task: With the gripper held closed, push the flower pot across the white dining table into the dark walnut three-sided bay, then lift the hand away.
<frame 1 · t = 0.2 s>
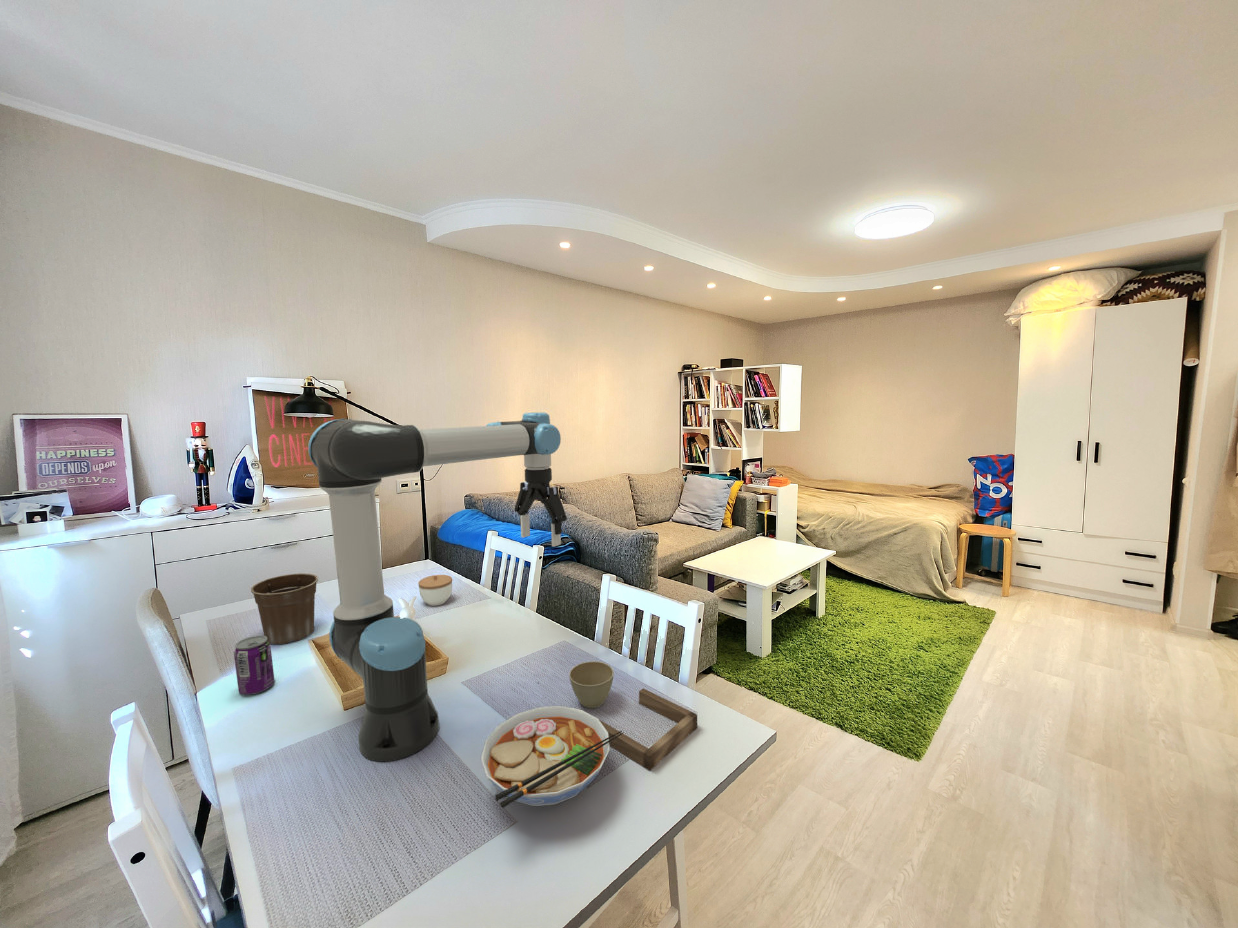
hand: (540, 540, 144), 28 cm above the table, tool pointing down, fingers open, 13 cm apart
lidded jar: (436, 602, 170), on the table
beverage can: (257, 689, 121), on the table
ramen bowl: (548, 782, 91), on the table
walnut bay: (643, 730, 104), on the table
plant pot: (291, 635, 148), on the table
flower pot: (592, 702, 114), on the table
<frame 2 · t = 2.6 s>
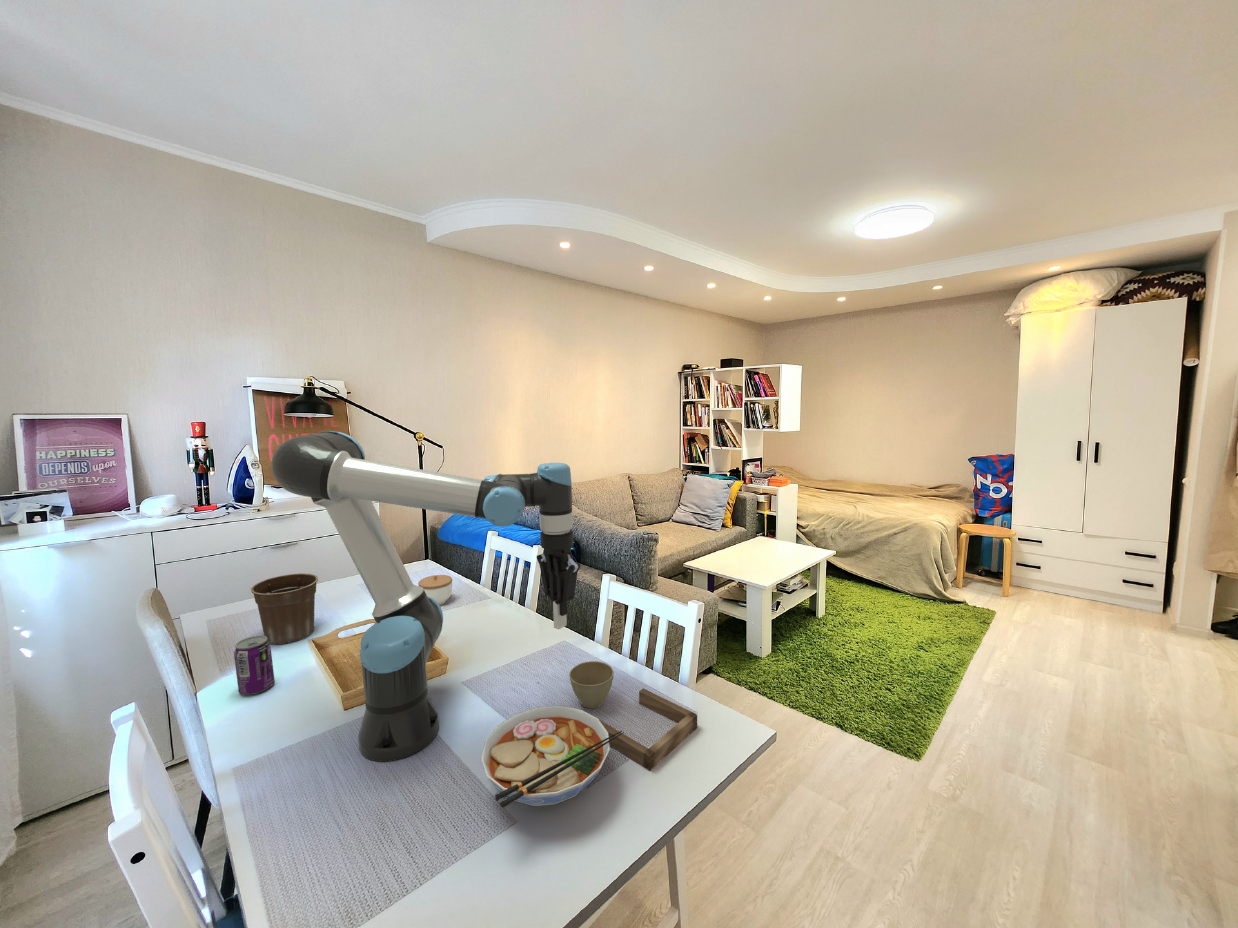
hand: (560, 626, 119), 15 cm above the table, tool pointing down, fingers closed
nothing on the table moved.
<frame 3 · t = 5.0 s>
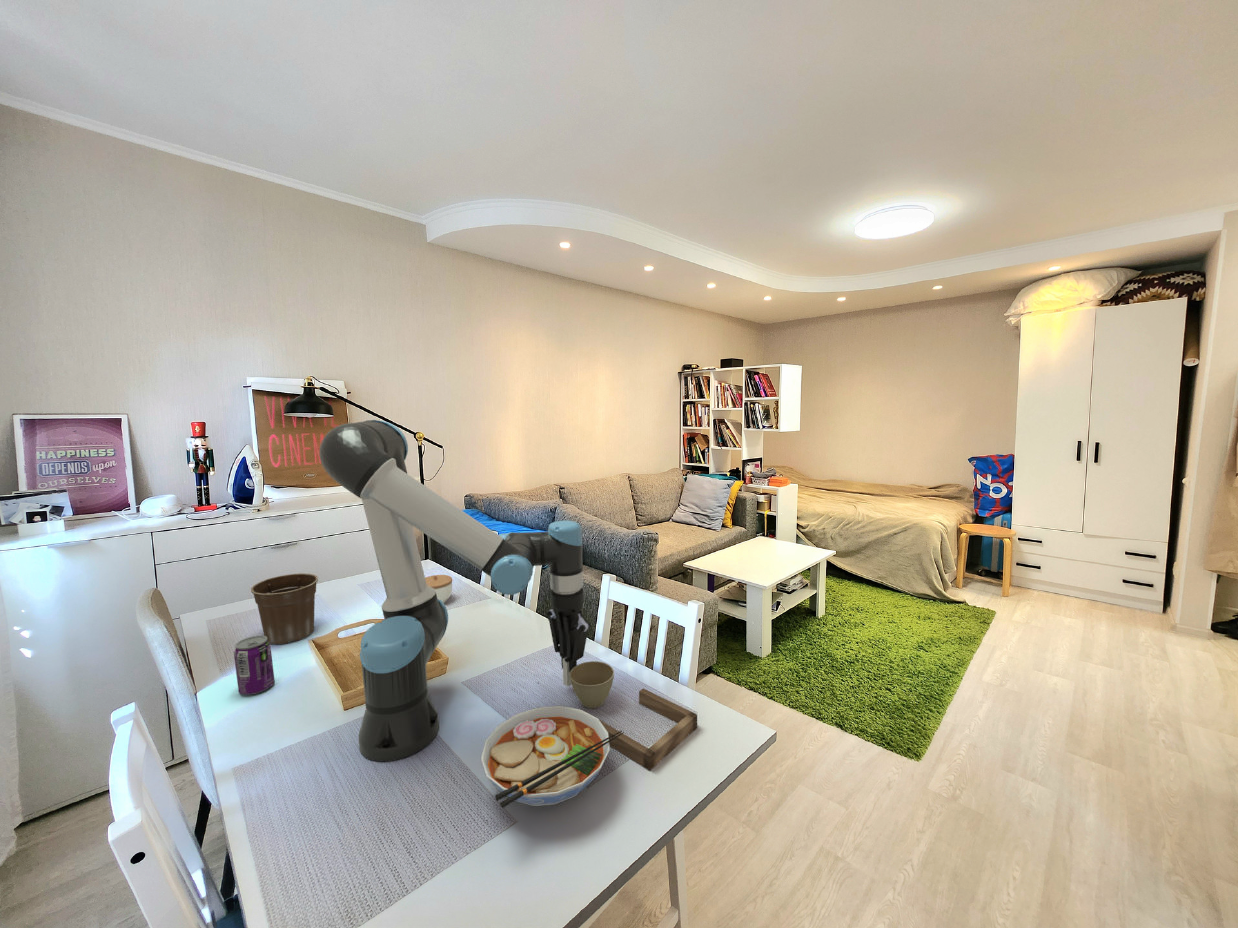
hand: (569, 682, 119), 1 cm above the table, tool pointing down, fingers closed
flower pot: (592, 702, 114), on the table, touching gripper
everything else where it was.
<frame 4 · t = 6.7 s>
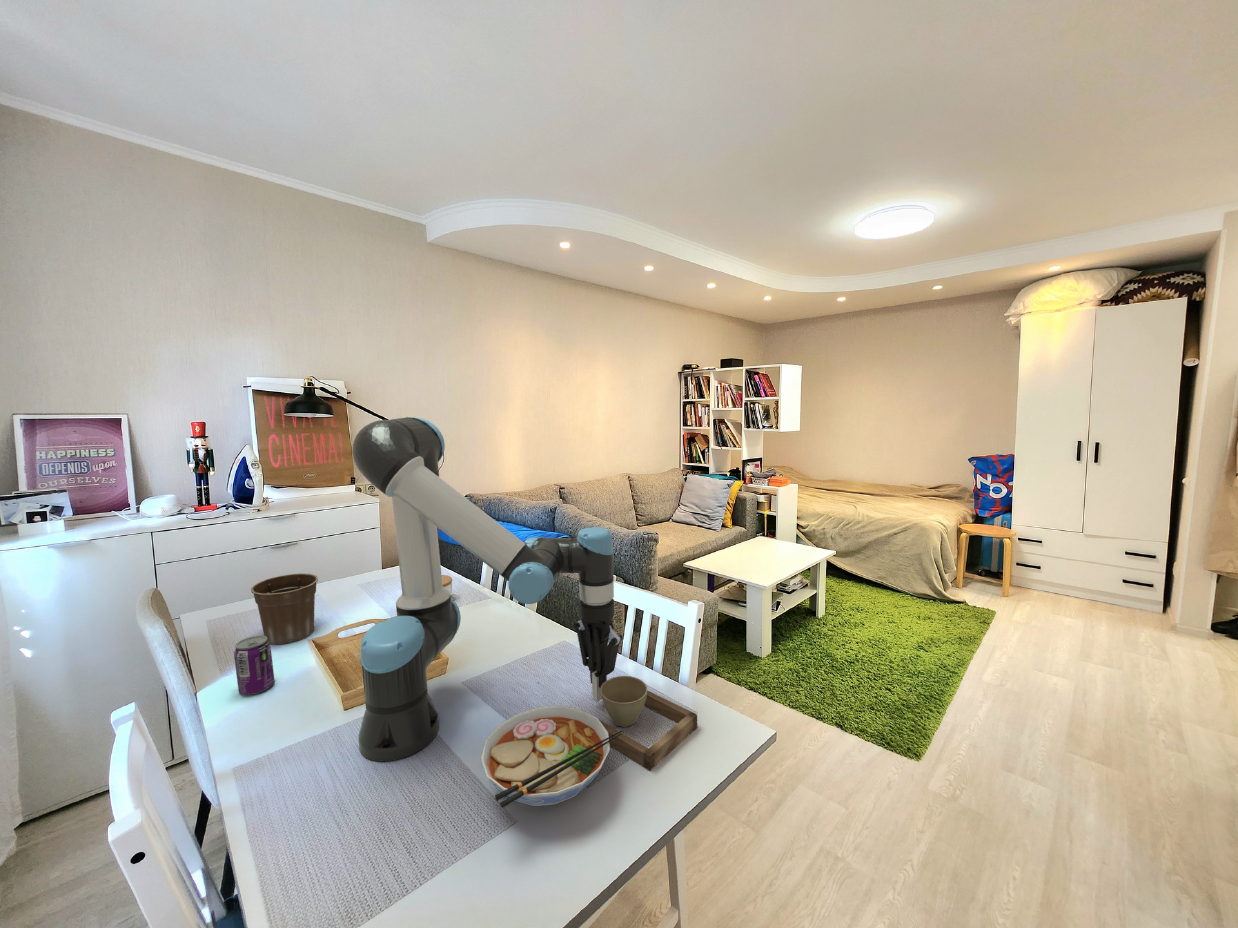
hand: (598, 698, 113), 2 cm above the table, tool pointing down, fingers closed
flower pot: (624, 720, 108), on the table, touching gripper
everything else where it was.
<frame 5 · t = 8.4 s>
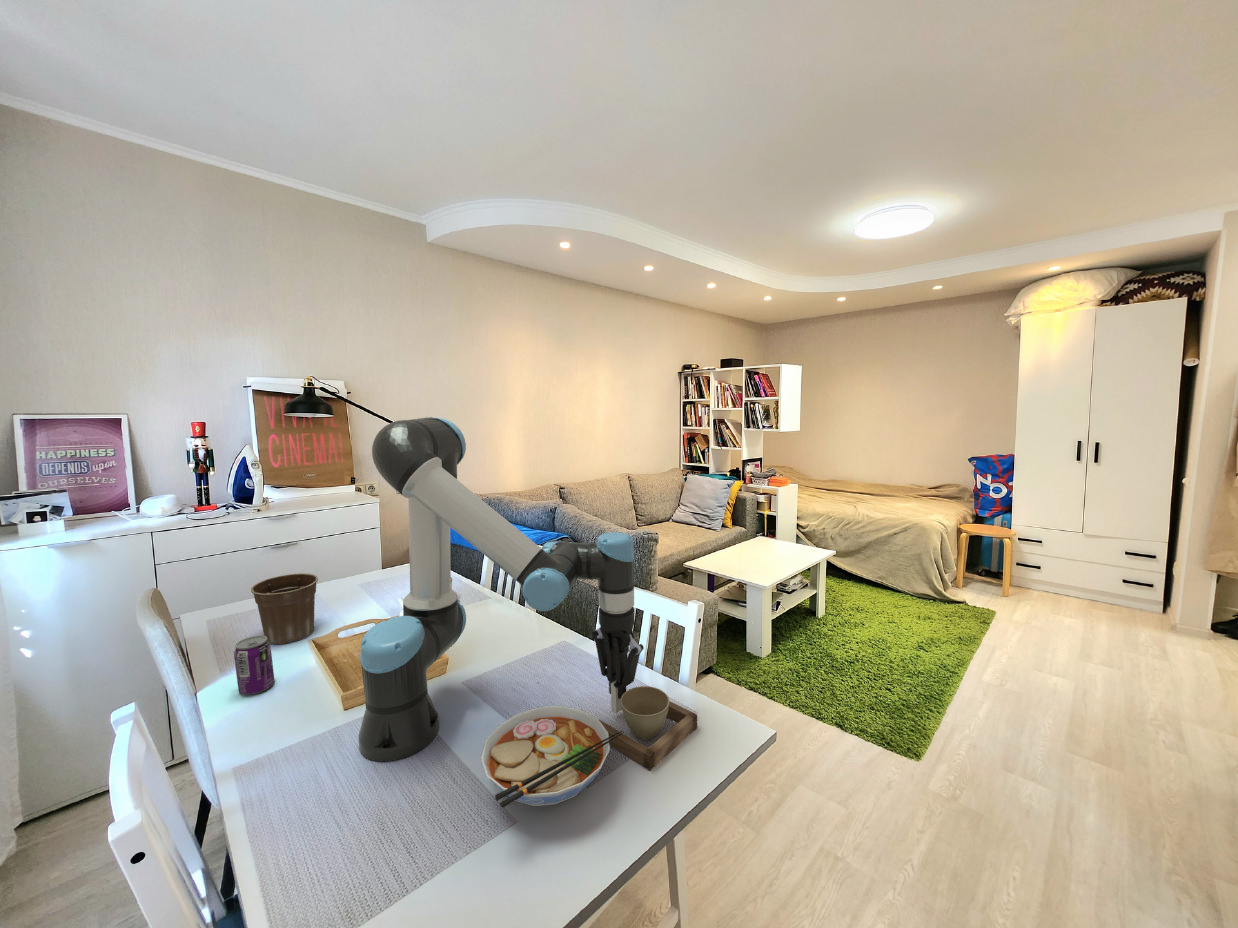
hand: (617, 709, 109), 1 cm above the table, tool pointing down, fingers closed
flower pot: (645, 732, 104), on the table, touching gripper
everything else where it was.
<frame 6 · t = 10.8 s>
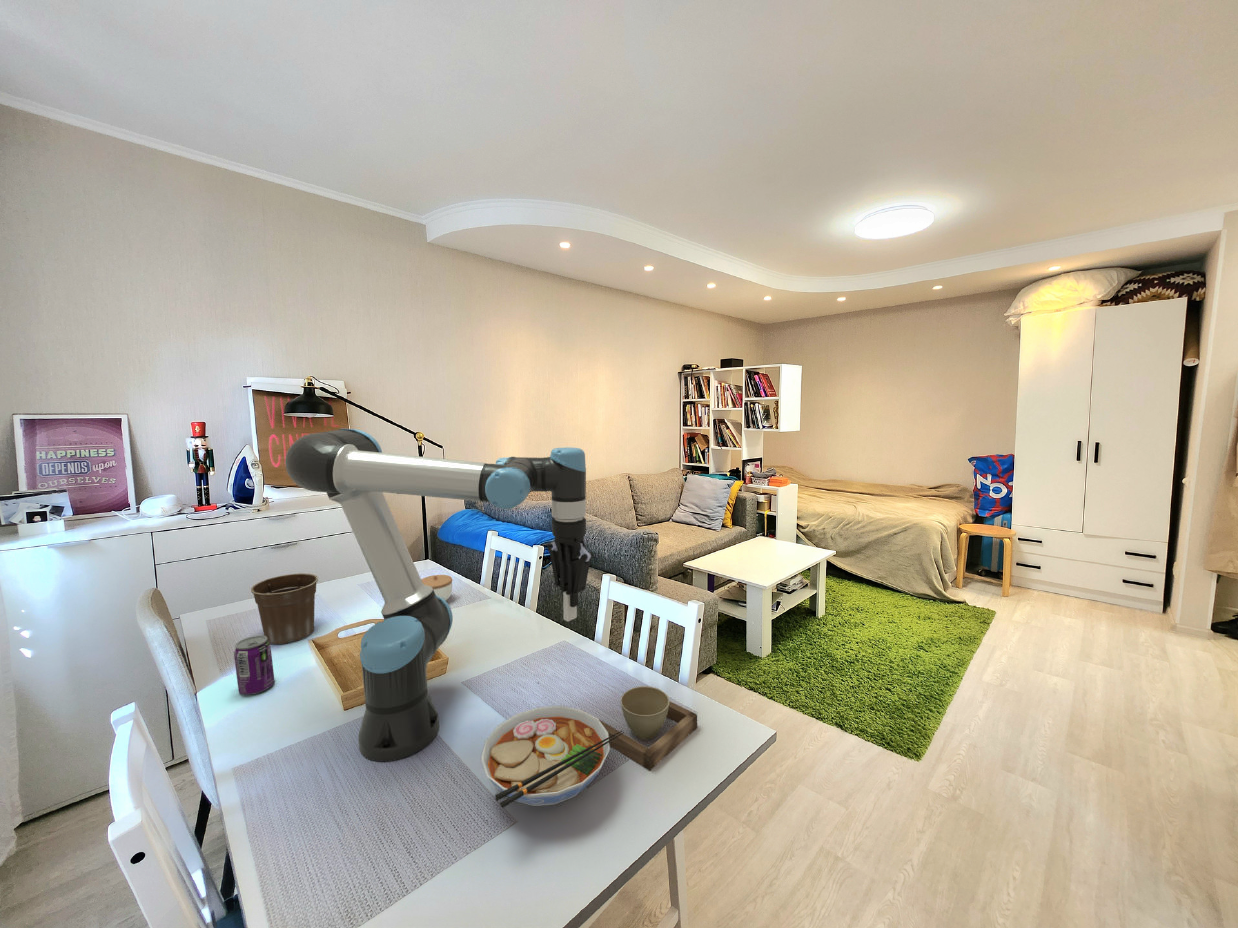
hand: (570, 618, 115), 19 cm above the table, tool pointing down, fingers closed
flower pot: (645, 732, 104), on the table
everything else where it was.
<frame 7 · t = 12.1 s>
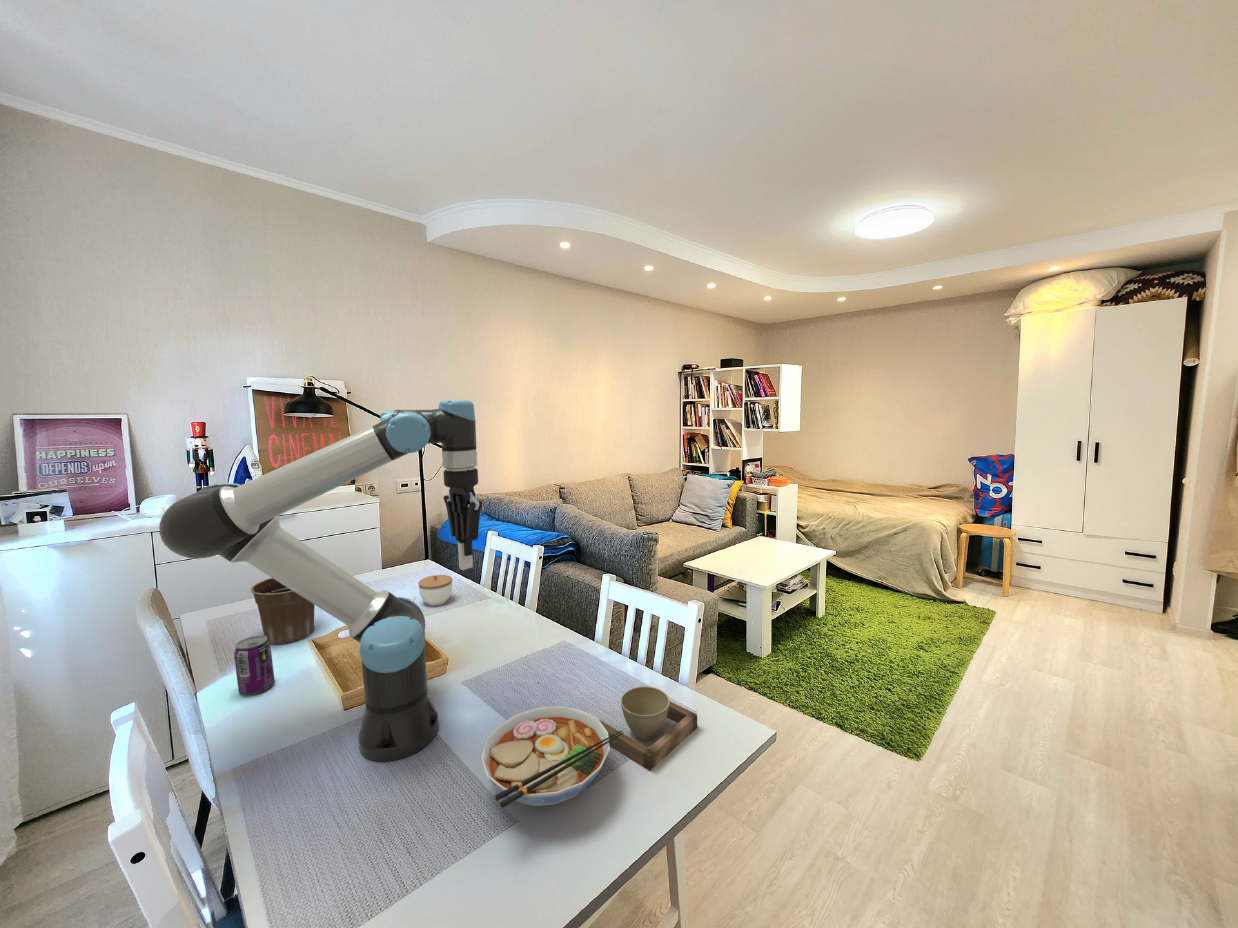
hand: (466, 567, 118), 29 cm above the table, tool pointing down, fingers closed
nothing on the table moved.
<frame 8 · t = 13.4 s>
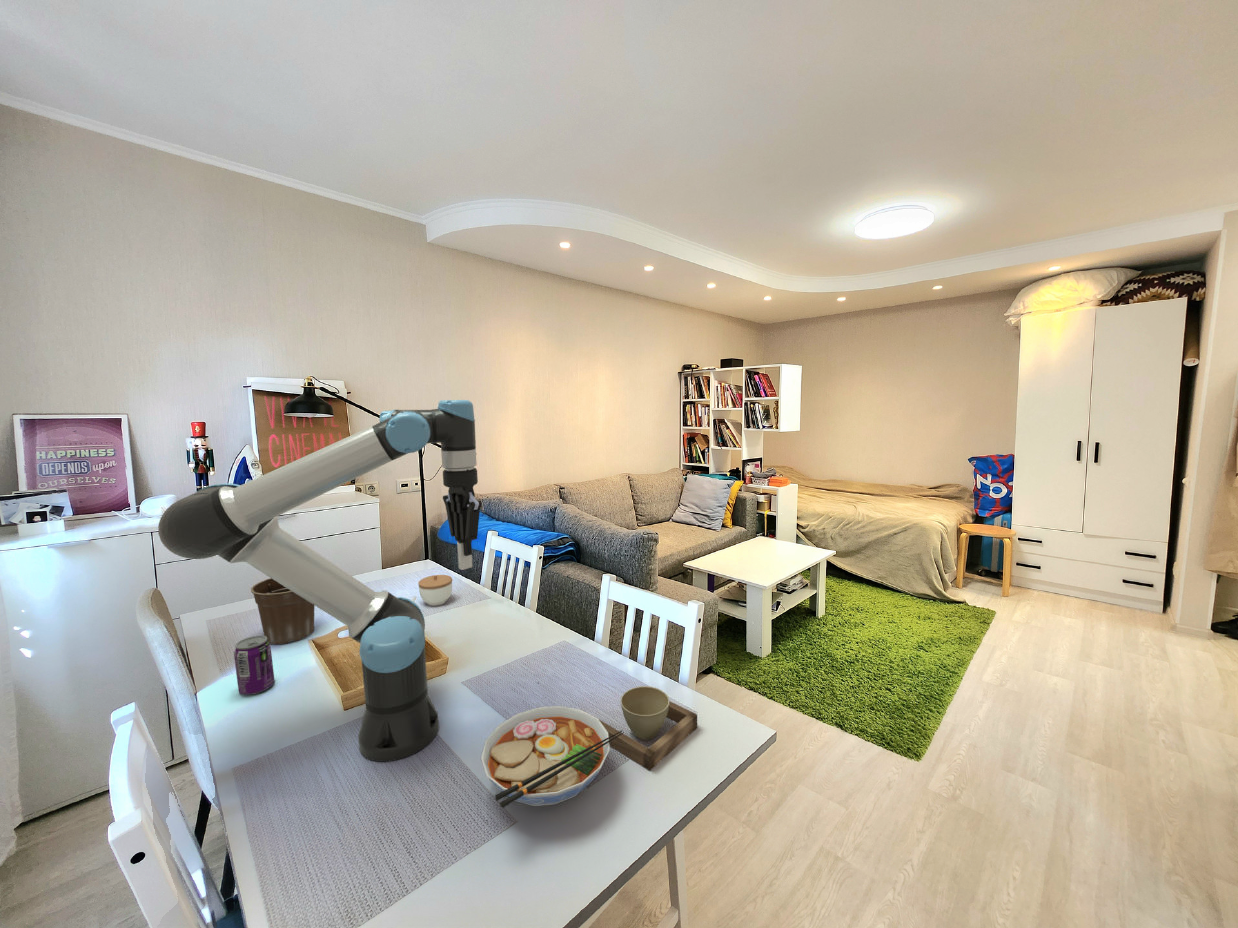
hand: (465, 567, 118), 29 cm above the table, tool pointing down, fingers closed
nothing on the table moved.
at the end: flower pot inside the target area on the walnut bay (0.2 cm from its centre), point 0.0 cm above the walnut bay's base; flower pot tilted 0° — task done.
